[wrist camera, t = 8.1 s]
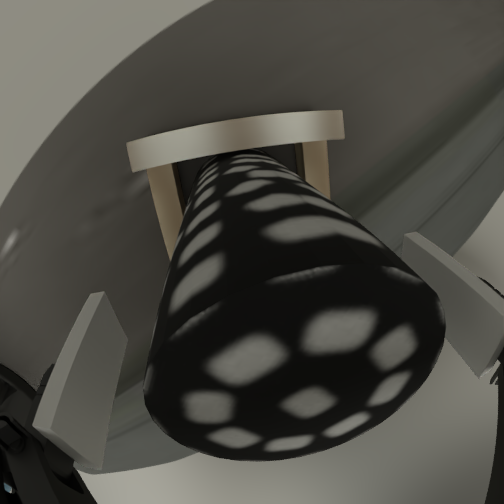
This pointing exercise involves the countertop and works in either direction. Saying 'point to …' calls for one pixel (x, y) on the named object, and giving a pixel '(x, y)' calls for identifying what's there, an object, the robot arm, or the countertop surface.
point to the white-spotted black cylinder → (282, 319)
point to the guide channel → (226, 140)
